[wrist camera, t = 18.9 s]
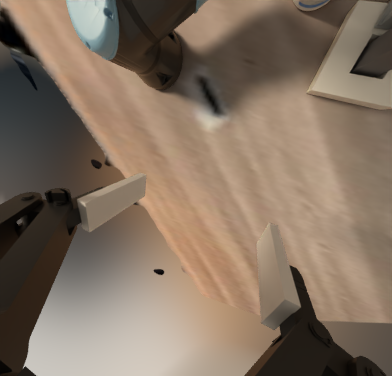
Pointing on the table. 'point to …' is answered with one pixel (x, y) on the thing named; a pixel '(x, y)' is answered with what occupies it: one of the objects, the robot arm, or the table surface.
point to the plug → (375, 57)
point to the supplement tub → (310, 4)
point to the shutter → (385, 18)
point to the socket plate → (346, 58)
